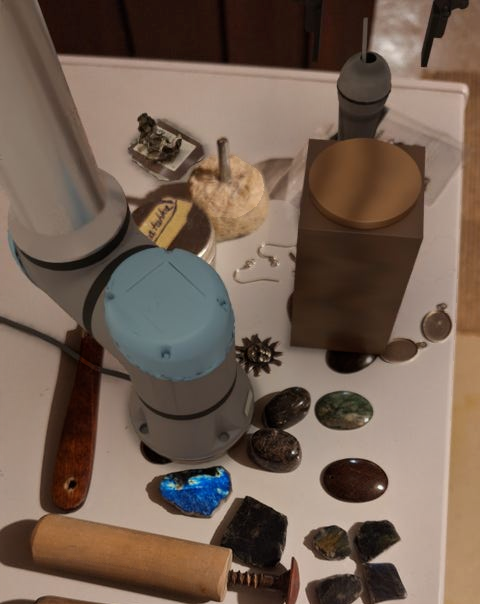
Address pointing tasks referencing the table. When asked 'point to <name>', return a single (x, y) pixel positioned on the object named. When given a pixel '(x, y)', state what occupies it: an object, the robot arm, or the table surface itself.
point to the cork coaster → (364, 183)
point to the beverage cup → (362, 93)
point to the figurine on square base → (164, 148)
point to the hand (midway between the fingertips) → (369, 57)
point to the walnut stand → (351, 272)
